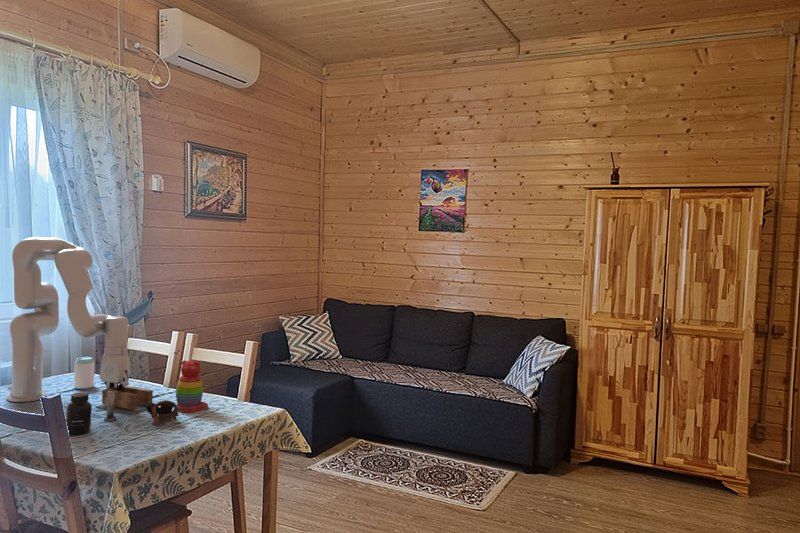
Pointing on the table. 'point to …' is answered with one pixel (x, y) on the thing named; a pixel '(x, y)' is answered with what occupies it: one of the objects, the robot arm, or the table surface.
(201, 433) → the table surface
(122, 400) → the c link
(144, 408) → the mat
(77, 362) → the can
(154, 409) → the pottery mug
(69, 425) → the supplement bottle
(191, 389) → the stacking bear
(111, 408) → the post
